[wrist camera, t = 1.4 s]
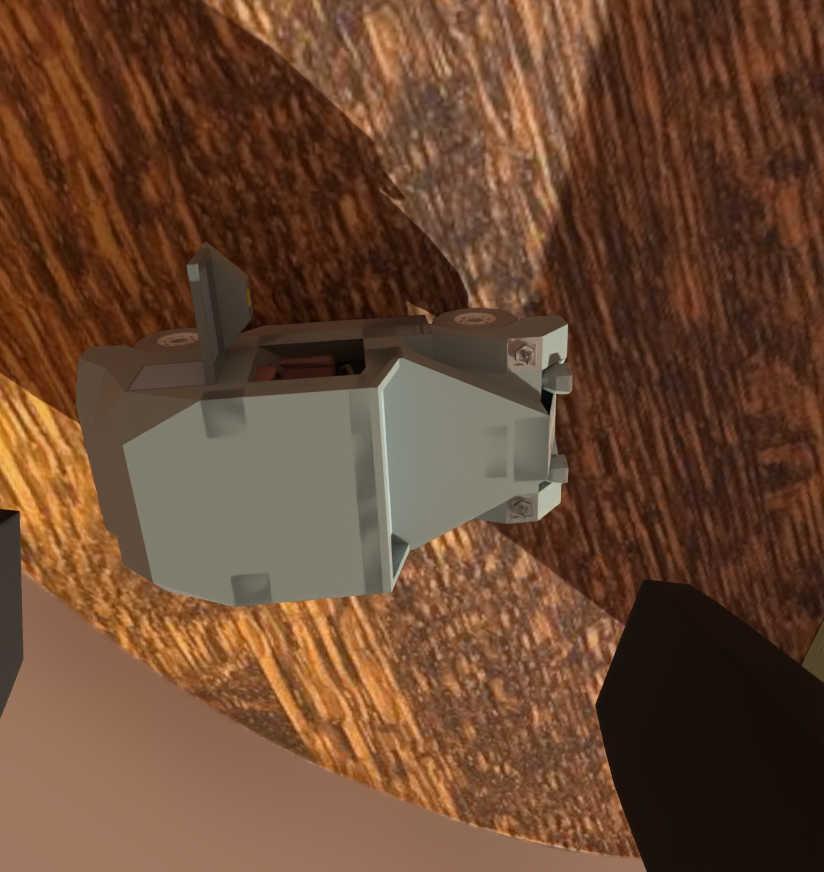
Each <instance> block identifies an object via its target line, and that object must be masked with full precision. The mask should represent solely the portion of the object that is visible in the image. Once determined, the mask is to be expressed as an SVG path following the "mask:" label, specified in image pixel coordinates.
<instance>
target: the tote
mask: <svg viewBox="0 0 824 872" xmlns="http://www.w3.org/2000/svg"><path fill="white" fill-rule="evenodd" d="M801 666H803V667H804V668H805V669H807V670H808V671H809V672H810V673H812V674H813V675H814V676H816V677H817V678H818V679H820V680H821V681H822V682H824V620H823V622H822V624H821V626H820V628H819V630H818V632H817V634H816V636H815V638H814V640H813V642H812V644H811V646H810V649H809V651H808V653H807V655H806V657H805V659H804V661H803V663H802V665H801Z"/></svg>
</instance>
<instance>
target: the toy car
mask: <svg viewBox="0 0 824 872" xmlns="http://www.w3.org/2000/svg"><path fill="white" fill-rule="evenodd" d="M186 266H187V272H188V278H189V284H190V290H191V296H192V302H193V308H194V314H195V320H196V326H197V327H185V328H177V329H169V330H165V331H161V332H156V333H153V334H151V335H148V336H146V337H144V338H142V339H141V340H139V341H138V342H137V343H135V344H134V348H132V347H129V346H126V345H114V346H99V347H88V348H87V350H86V351H85V352H84V353H83V354H82V355H81V356H80V357H79V358H78V372H77V389H76V408H77V413H78V417H79V421H80V425H81V429H82V433H83V437H84V441H85V445H86V449H87V453H88V457H89V462H90V466H91V470H92V474H93V478H94V482H95V486H96V490H97V494H98V498H99V502H100V506H101V510H102V515H103V519H104V523H105V527H106V530H108V531H109V532H111V533H112V534H113V535H115V536H116V537H117V538H118V542H119V546H120V551H121V555H122V559H123V563H124V565H125V566H127V567H129V568H130V569H132V570H133V571H135V572H137V573H138V574H140V575H141V576H143V577H145V578H146V579H148V580H150V581H151V582H153V583H154V584H156V585H158V586H159V587H161V588H163V589H164V590H166V591H168V592H172V593H177V594H181V595H186V596H190V597H194V598H199V599H203V600H208V601H212V602H217V603H221V604H225V605H230V606H234V607H238V606H249V605H260V604H271V603H282V602H293V601H304V600H315V599H326V598H337V597H348V596H359V595H370V594H381V593H392V590H393V588H394V586H395V583H396V581H397V578H398V576H399V574H400V571H401V569H402V567H403V564H404V562H405V559H406V557H407V555H408V552H409V550H414V549H416V548H418V547H420V546H422V545H424V544H425V543H427V542H429V541H431V540H433V539H435V538H437V537H439V536H441V535H443V534H444V533H446V532H448V531H450V530H452V529H454V528H456V527H458V526H460V525H462V524H464V523H465V522H467V521H469V520H471V519H478V520H485V521H491V522H497V523H503V524H511V523H522V522H534V521H538V520H540V519H541V518H542V517H543V516H545V515H546V514H547V513H548V512H550V511H551V510H552V509H553V508H555V507H556V506H557V505H558V504H560V503H561V483H567V482H568V465H567V461H566V457H565V454H564V455H558V451H557V445H556V439H555V410H556V394H568V393H570V392H572V376H573V375H572V372H571V368H570V365H569V362H565V363H564V361H565V359H566V357H567V337H568V323H567V322H566V321H565V320H564V319H563V318H562V317H561V316H560V315H549V316H534V317H526V318H523V319H521V320H519V321H518V318H517V317H516V316H514V315H512V314H511V313H509V312H506V311H502V310H498V309H489V308H466V309H458V310H453V311H449V312H445V313H443V314H441V315H439V316H438V317H436V318H434V319H433V322H432V324H428V322H427V319H426V316H425V315H415V316H400V317H385V318H371V319H356V320H341V321H327V322H312V323H297V324H283V325H268V326H262V327H258V328H255V329H252V330H249V331H246V332H243V333H240V332H241V331H242V330H243V329H244V328H245V326H246V325H247V324H248V323H249V322H250V319H251V316H252V314H253V306H252V298H251V291H250V283H249V276H248V275H247V274H246V273H244V272H243V271H242V270H241V269H239V268H238V267H237V266H236V265H235V264H233V263H232V262H231V261H230V260H228V259H227V258H226V257H225V256H223V255H222V254H221V253H220V252H219V251H217V250H216V249H215V248H214V247H212V246H211V245H210V244H209V243H208V242H205V243H204V244H203V245H202V247H201V248H200V249H199V250H198V251H197V253H196V254H195V255H194V256H193V258H192V259H191V260H190V261H189V262H188V264H187V265H186Z"/></svg>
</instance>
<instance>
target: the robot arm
mask: <svg viewBox="0 0 824 872" xmlns="http://www.w3.org/2000/svg"><path fill="white" fill-rule="evenodd" d="M22 661H23V628H22V591H21V551H20V512H19V511H14V510H5V509H0V718H1V715H2V713H3V710H4V708H5V706H6V703H7V700H8V698H9V695H10V693H11V690H12V687H13V685H14V682H15V680H16V677H17V674H18V672H19V669H20V667H21V664H22ZM595 706H596V711H597V715H598V720H599V724H600V729H601V733H602V738H603V742H604V747H605V751H606V755H607V759H608V763H609V766H610V770H611V774H612V778H613V782H614V785H615V788H616V791H617V794H618V797H619V799H620V802H621V805H622V808H623V810H624V813H625V816H626V818H627V821H628V824H629V826H630V829H631V831H632V834H633V837H634V839H635V842H636V845H637V847H638V850H639V853H640V855H641V858H642V860H643V863H644V866H645V868H646V871H647V872H824V682H822V681H821V680H820V679H818V678H817V677H816V676H814V675H813V674H812V673H810V672H809V671H808V670H807V669H805V668H804V667H803V666H801V665H800V664H799V663H797V662H796V661H795V660H793V659H792V658H791V657H790V656H788V655H787V654H786V653H784V652H783V651H782V650H780V649H779V648H778V647H776V646H775V645H774V644H773V643H771V642H770V641H769V640H767V639H766V638H765V637H763V636H762V635H761V634H759V633H758V632H757V631H755V630H754V629H753V628H751V627H750V626H749V625H748V624H746V623H745V622H743V621H742V620H741V619H739V618H738V617H737V616H735V615H734V614H733V613H731V612H730V611H729V610H727V609H726V608H724V607H723V606H722V605H720V604H719V603H717V602H716V601H714V600H713V599H712V598H710V597H709V596H707V595H706V594H704V593H703V592H701V591H699V590H698V589H696V588H695V587H693V586H691V585H690V584H682V583H673V582H664V581H655V580H646V579H643V581H642V584H641V586H640V589H639V592H638V594H637V597H636V599H635V602H634V605H633V607H632V610H631V613H630V615H629V618H628V620H627V623H626V626H625V628H624V631H623V634H622V636H621V639H620V641H619V644H618V647H617V649H616V652H615V655H614V657H613V660H612V662H611V665H610V668H609V670H608V673H607V676H606V678H605V681H604V683H603V686H602V689H601V691H600V694H599V697H598V699H597V702H596V704H595Z"/></svg>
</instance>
